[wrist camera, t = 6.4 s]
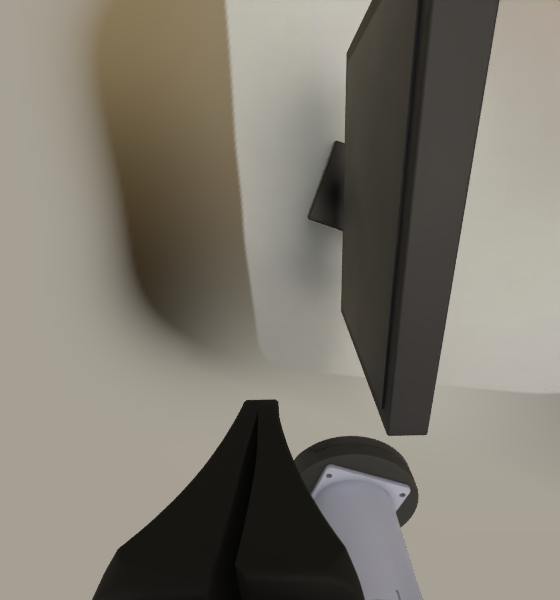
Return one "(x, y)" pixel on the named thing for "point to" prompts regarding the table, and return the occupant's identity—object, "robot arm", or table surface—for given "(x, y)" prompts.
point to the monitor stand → (330, 190)
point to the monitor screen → (408, 188)
